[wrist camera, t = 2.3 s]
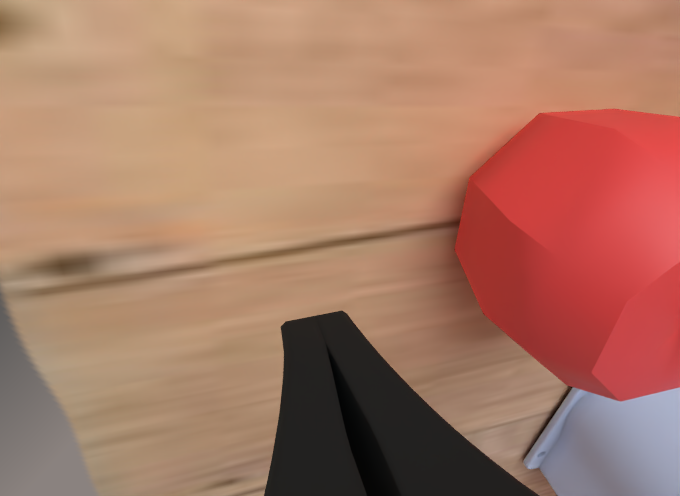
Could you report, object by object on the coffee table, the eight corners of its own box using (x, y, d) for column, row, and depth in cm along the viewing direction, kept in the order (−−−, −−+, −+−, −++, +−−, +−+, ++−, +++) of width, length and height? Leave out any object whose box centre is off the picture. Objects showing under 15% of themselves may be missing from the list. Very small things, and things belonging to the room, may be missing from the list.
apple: (512, 29, 12) (853, 122, 6) (675, 124, 16) (1003, 248, 9) (384, 261, 16) (514, 480, 9) (541, 298, 19) (715, 476, 13)
